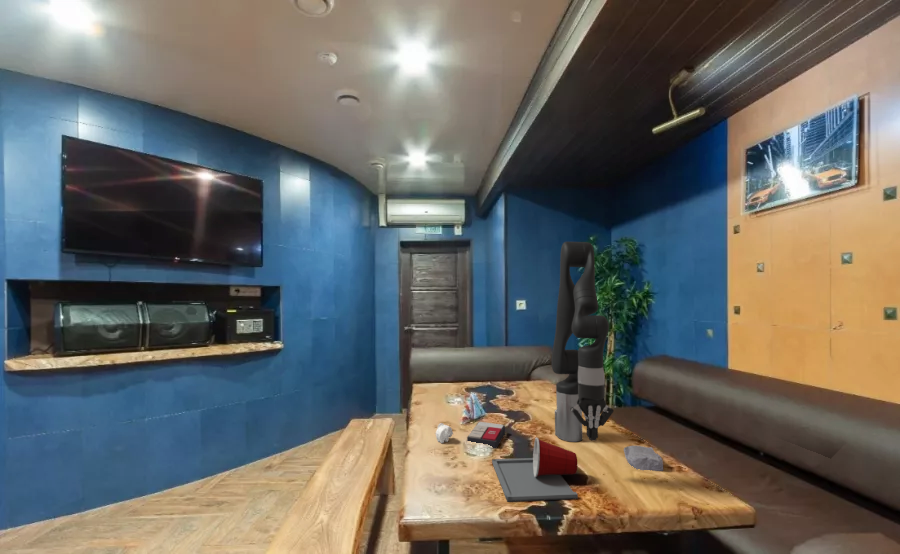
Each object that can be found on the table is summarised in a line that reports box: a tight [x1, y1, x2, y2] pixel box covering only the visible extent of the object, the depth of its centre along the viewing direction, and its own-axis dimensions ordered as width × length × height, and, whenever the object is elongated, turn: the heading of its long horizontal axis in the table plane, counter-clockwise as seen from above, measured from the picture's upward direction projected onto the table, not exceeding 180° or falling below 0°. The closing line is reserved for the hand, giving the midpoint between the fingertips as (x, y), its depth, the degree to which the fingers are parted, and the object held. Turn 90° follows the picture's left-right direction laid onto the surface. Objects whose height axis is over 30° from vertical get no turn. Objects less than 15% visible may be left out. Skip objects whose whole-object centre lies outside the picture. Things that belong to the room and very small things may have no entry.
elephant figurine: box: [434, 422, 454, 444], centre depth 133 cm, size 7×8×6 cm
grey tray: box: [491, 457, 579, 503], centre depth 105 cm, size 19×22×1 cm
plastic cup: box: [532, 436, 578, 477], centre depth 106 cm, size 11×11×12 cm
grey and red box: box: [466, 421, 506, 450], centre depth 135 cm, size 11×4×15 cm
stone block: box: [623, 445, 664, 472], centre depth 116 cm, size 12×5×10 cm
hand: (592, 439), depth 107 cm, fingers closed
